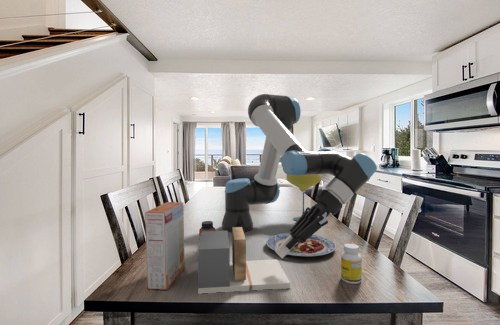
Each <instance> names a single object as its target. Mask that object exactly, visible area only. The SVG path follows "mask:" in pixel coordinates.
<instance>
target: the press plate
mask: <svg viewBox="0 0 500 325" xmlns="http://www.w3.org/2000/svg"><path fill="white" fill-rule="evenodd" d="M244 232H245V231H243V229H242V227H232V232H231V234H232V236H231V237H232V239H231V243H232V244H231V250H232V252H231V253H232V255H231V256H232V258H231V260H232V261H231V262H232V264H233V271H234V279H235V281H237V280H246V261H247V239H246V235H245V233H244Z"/></svg>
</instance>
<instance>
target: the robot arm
mask: <svg viewBox="0 0 500 325" xmlns="http://www.w3.org/2000/svg"><path fill="white" fill-rule="evenodd" d="M301 110H302V109H301V106H300V103H299V101H298V100H297V99H296V98H295V97H293V96H289V95H279V94H269V93H263V94H259V95H257V96H255V97H254V98H252V99H251V101H250V102H249V105H248V108H247V114H248V118H249V119H250V121H251V123H252V124H253V125H254V127H255V126H256V127H258V128H259V129H260V131H262V133H263V134H264V135H265V140H264V146H263V150H262V154H261V159H260V163H259V167H258V173H256V174H254V176H253V180H250V178H245V177H244V178H235V179H231V180H228V181H226V183H225V188H224V189H225V190H224V195H225V196H224V197H225V198H224V201H225V202H224V203H225V205H224V206H225V207H224V209H225V212H224V215H223V219H222V221H221V229H222V231H228V232H231V233H232V227H242V229H243V232H248V231H252V230H253V229H254V221H253V219H252V216H251V212H250V206H253V205H254V206H255V205H264V204H265V205H268V204H271V203H275V202H277V200H278V198H279V196H280V193H281V190H280V184H279V182H278V179H277V177H276V175H277V173H278V167H279V165H281V167H282V171H283V173H284V174H285V175H286V176H287V175H295V176H301V175H319V174H321V175H331V176H334V177H332V178H331V180H330V181H329V182H328V183H327V184H326V185H325V186H324V188H325V189H324V188H323V189H322V190H321V191H320V192H319V193H318V194H317V195H316V196H315V199H316V201H317V203H315V204H314V205H313V206H311V207H309V206H308V207H306V208H305V209H304V213H303V214H302V213H301V215H300V216H299V217H300V218H299V219H298V221H295V223H294V225H293V226H292V227H291V228H290V229H289V233H290V235H289V236H288V237H287V239H286V240H285V241H284V242H283V243H282V244H281V245H280V246H279V247H278V248H277V249H276V250H275V251H274V252H275V253H276V254H277V255H278V256H279V258H281V259H284V258H285V257H286V256H287V253H288V252H289V251H290V250H291V249H292V248H293V247H294V246H295V245H296V244H297V243H299V242H301V243H303V242H305V241H306V240H307V239H308V238H309V237H310V236H312V235H315V234H316V232H318V231H319V230H320V229H321V228H322V227H324V226H326V225H328V223H329V221H328V219H327V218H328V217H329V215H330V214H331V215H336V214H337V213H338V212H340V211H341V209H342V208H343V205H345V204H347V203H348V202H350V201H351V200H352V199H351V198H353V197H354V195H355V194H356V193H357V192H358V191H359V189H361V188H362V187H364V185H365V184H366V183H367V182H368V181H369V180H370V179H371V177H372V176H373V175H374V174H375V173H376V171H378V170H377V169H378V166H377V164H376V162H375V161H374V160H373V159H372V158H371V157H370V156H368V155H367V154H365V153H363V152H362V153H361V152H358V153H356V154H355V155H353V157H350V156H347V155H345V154H343V153H341V152H339V151H337V150H335V149H333V148H329V147H323V148H321V149H319V150H317V151H316V150H307V149H306V148H305V146H304V145H303V144H301V143H300V141H299V140H298V139H297V138H296V137H295V136H294V134H293V133H292V132H291V130H292V127H293V125H295V124H297V123H298V121H299V120H300V117H301V112H302V111H301ZM280 161H281V164H279V163H280Z"/></svg>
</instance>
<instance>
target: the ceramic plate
mask: <svg viewBox="0 0 500 325" xmlns="http://www.w3.org/2000/svg"><path fill="white" fill-rule="evenodd" d="M290 233H291V232H285V233H278V234H276V235H272V236H271V237H269V238H268V239H266V245H267V247H268V248H269V249H270V250H273V251H274V252H275V250H276V249H277V248H278V247H279V246H280V245H281V244H282V243H283V242H284V241H285V240H286V239H287V237H288V236H289V235H290ZM336 247H337V245H336V243H335V242H334V241H333V240H331V239H329V238H327V237H324V236H321V235H318V234H313V235H312V236H310V237H309V238H308V239H307V240H306V241H305V242H303V243H301V242H299V243H297V244H296V245H295V246H294V247H293V248H292V249H291V250H290V251H289V252H288V253H287V254H286V256H292V257H293V256H294V257H297V256H298V257H318V256H324V255H329V254H331V253H332V252H335V250H336Z"/></svg>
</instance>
